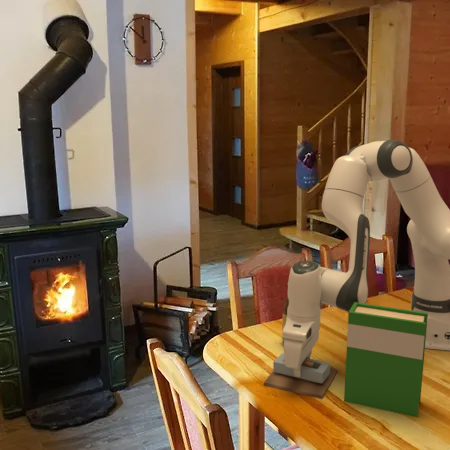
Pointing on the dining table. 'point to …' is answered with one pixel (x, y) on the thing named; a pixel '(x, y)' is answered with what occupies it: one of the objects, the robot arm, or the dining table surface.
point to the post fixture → (301, 382)
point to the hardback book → (385, 358)
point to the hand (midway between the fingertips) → (302, 369)
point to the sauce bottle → (285, 312)
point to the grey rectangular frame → (304, 369)
